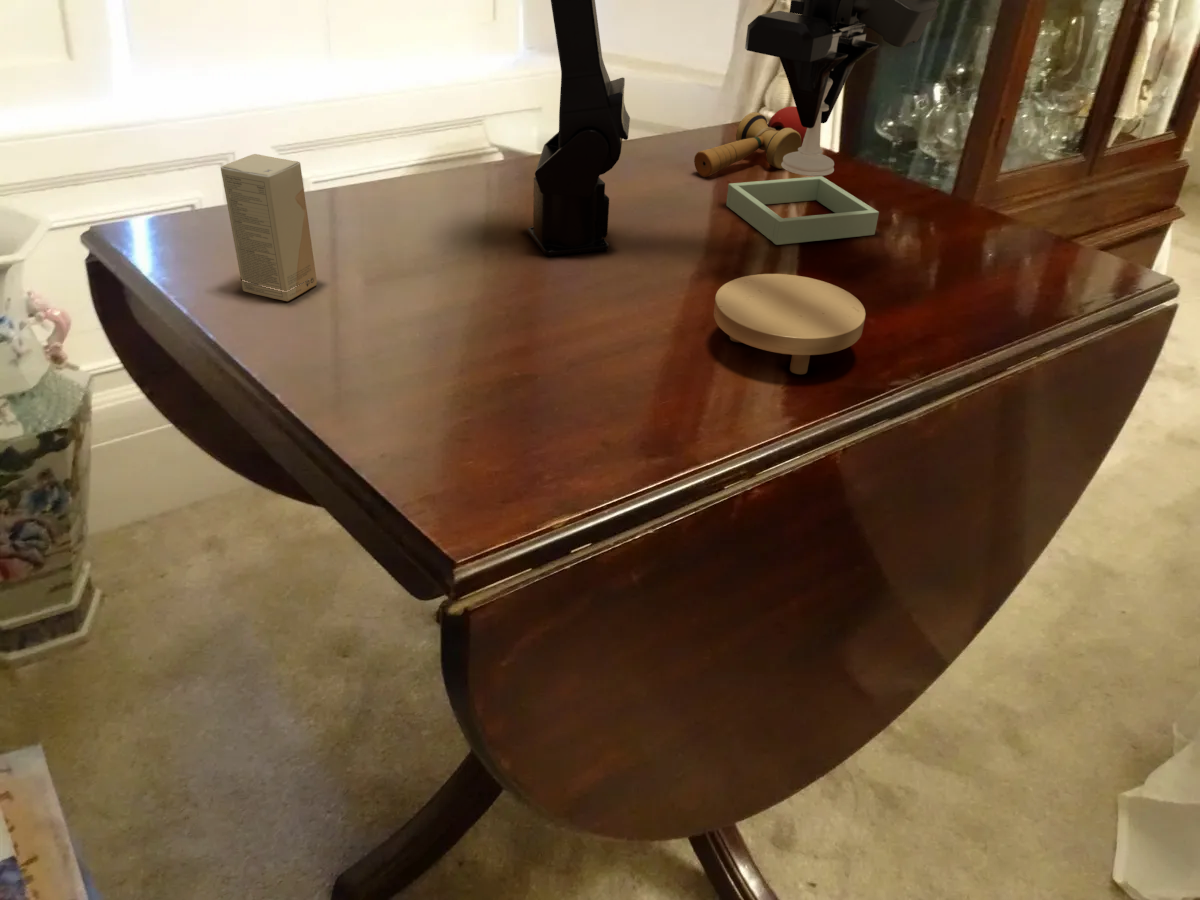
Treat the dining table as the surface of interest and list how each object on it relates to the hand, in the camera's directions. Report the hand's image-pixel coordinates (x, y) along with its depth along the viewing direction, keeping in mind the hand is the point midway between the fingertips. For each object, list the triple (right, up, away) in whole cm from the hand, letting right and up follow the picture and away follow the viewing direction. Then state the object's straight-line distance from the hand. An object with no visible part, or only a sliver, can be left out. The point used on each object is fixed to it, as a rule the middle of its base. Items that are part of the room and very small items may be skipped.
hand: (814, 124), depth 95 cm
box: (-48, -16, -4) cm, 51 cm away
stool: (-5, -21, -10) cm, 24 cm away
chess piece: (0, -4, +2) cm, 4 cm away
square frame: (+2, -5, +16) cm, 16 cm away
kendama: (-1, +5, +31) cm, 31 cm away
